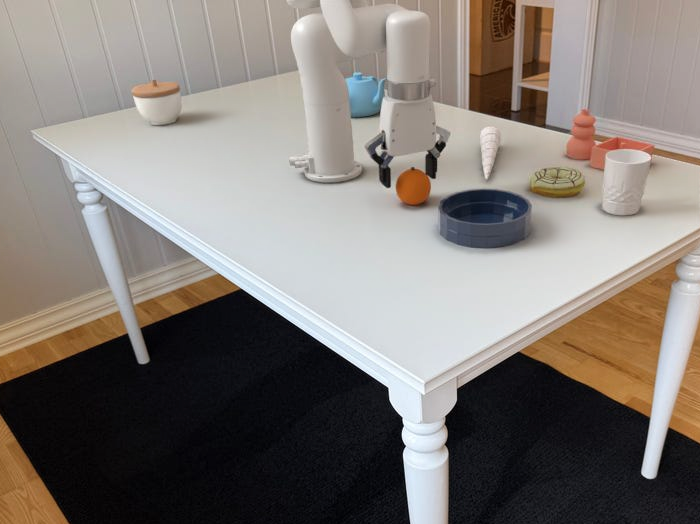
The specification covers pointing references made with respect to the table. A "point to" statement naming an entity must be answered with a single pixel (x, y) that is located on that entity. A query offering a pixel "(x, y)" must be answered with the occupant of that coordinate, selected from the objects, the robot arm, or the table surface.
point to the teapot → (365, 95)
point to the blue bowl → (484, 218)
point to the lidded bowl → (158, 101)
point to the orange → (413, 186)
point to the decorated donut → (557, 182)
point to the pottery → (587, 148)
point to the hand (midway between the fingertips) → (408, 181)
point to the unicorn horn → (489, 148)
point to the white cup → (624, 180)
